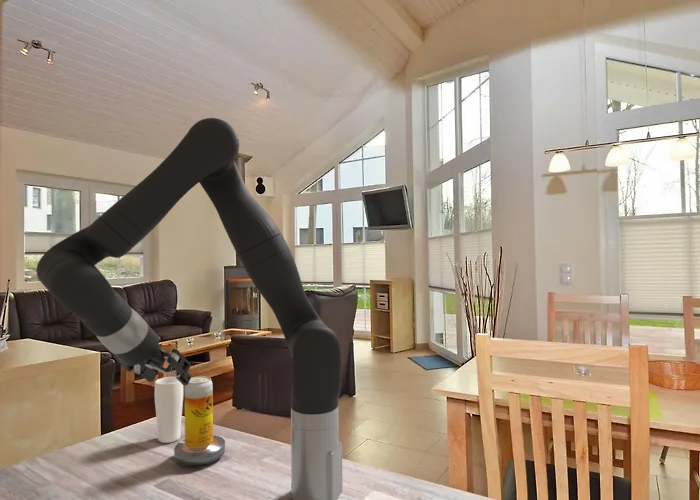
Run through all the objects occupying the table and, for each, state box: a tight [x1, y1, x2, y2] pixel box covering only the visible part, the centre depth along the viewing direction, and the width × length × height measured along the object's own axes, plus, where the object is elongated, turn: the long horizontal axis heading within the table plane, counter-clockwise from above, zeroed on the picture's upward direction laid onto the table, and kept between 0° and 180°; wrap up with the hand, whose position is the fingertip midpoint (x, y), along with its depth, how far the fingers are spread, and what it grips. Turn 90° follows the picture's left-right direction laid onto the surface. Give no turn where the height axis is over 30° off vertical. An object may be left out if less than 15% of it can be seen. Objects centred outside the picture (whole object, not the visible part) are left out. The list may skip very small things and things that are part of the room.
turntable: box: [173, 434, 226, 467], centre depth 99 cm, size 11×11×2 cm
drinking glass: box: [154, 376, 184, 444], centre depth 109 cm, size 7×7×15 cm
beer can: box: [183, 375, 214, 450], centre depth 99 cm, size 6×6×15 cm
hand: (170, 379), depth 90 cm, fingers open, 8 cm apart
